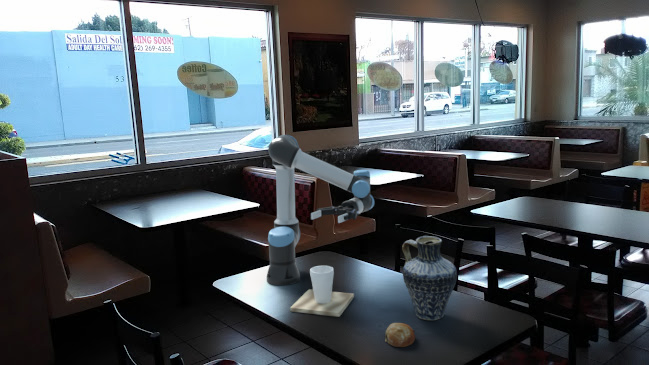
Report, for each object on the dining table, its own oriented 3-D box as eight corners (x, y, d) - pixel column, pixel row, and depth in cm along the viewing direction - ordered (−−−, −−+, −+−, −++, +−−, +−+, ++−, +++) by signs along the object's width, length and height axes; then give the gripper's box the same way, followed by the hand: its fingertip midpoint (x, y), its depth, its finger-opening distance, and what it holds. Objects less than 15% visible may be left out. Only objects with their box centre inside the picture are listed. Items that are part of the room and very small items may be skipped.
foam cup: (335, 296, 216) (334, 265, 214) (333, 305, 207) (332, 273, 205) (312, 295, 217) (311, 265, 215) (309, 304, 208) (308, 273, 206)
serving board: (290, 311, 206) (290, 307, 206) (308, 292, 225) (308, 289, 225) (339, 316, 200) (339, 313, 200) (354, 297, 218) (353, 293, 218)
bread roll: (385, 346, 184) (375, 328, 181) (408, 329, 186) (399, 311, 184) (399, 358, 174) (389, 340, 172) (423, 340, 177) (414, 322, 174)
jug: (463, 311, 201) (463, 234, 195) (447, 332, 184) (447, 248, 179) (411, 302, 211) (411, 229, 206) (392, 321, 195) (391, 242, 189)
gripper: (376, 218, 232) (350, 230, 214) (328, 213, 246) (301, 223, 228) (375, 202, 230) (350, 212, 213) (328, 197, 244) (300, 206, 227)
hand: (324, 218), depth 221 cm, fingers open, 13 cm apart
